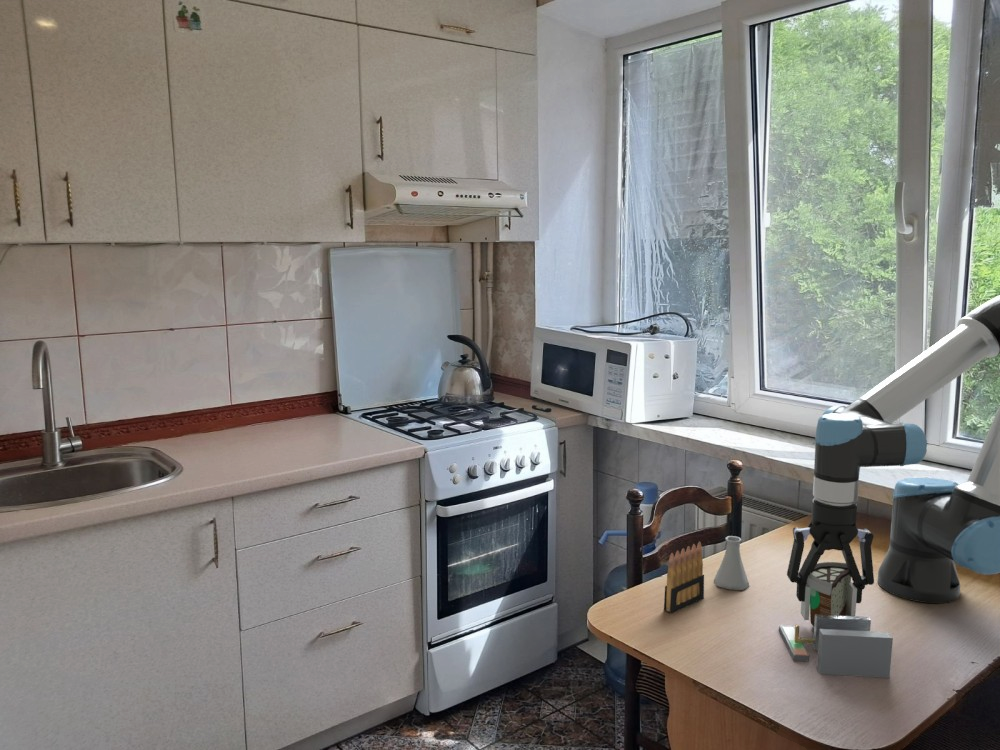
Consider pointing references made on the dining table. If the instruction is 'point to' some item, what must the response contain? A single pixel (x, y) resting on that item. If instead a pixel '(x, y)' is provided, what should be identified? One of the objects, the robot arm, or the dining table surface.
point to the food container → (828, 589)
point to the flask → (732, 567)
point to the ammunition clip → (684, 579)
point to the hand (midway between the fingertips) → (827, 617)
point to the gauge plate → (833, 626)
